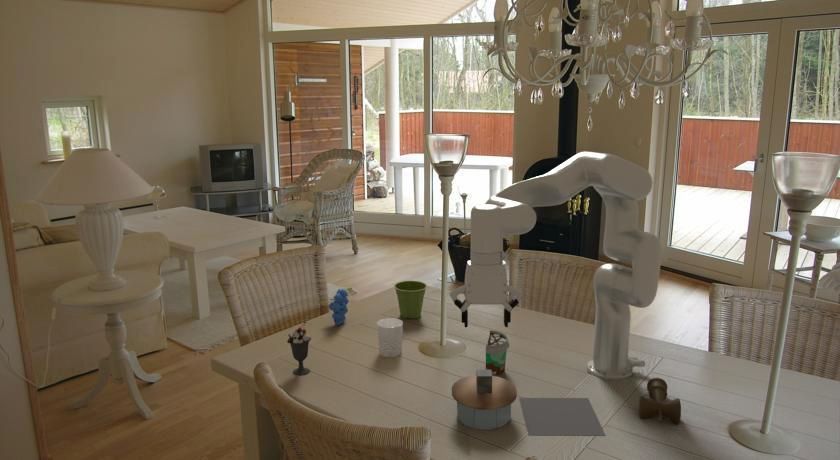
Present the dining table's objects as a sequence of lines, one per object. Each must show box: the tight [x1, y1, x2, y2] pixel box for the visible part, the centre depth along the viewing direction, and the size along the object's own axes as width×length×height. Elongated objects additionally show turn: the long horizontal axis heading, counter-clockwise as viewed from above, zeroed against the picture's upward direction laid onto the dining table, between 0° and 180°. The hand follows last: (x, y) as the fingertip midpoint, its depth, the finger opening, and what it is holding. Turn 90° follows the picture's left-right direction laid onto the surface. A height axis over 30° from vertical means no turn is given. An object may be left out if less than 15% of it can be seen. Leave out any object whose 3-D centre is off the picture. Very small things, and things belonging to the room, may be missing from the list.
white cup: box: [376, 317, 404, 358], centre depth 196 cm, size 8×8×10 cm
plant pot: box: [393, 280, 428, 320], centre depth 227 cm, size 12×12×11 cm
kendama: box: [638, 377, 682, 425], centre depth 160 cm, size 6×10×20 cm
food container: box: [485, 329, 510, 376], centre depth 183 cm, size 12×6×10 cm, turn 168°
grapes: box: [328, 288, 350, 326], centre depth 221 cm, size 12×7×12 cm, turn 167°
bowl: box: [456, 401, 512, 430], centre depth 158 cm, size 13×13×6 cm
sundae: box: [286, 321, 312, 377], centre depth 183 cm, size 7×7×15 cm
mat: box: [519, 397, 606, 437], centre depth 159 cm, size 18×18×1 cm
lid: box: [451, 369, 518, 410], centre depth 157 cm, size 16×16×6 cm
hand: (485, 325), depth 154 cm, fingers open, 9 cm apart
